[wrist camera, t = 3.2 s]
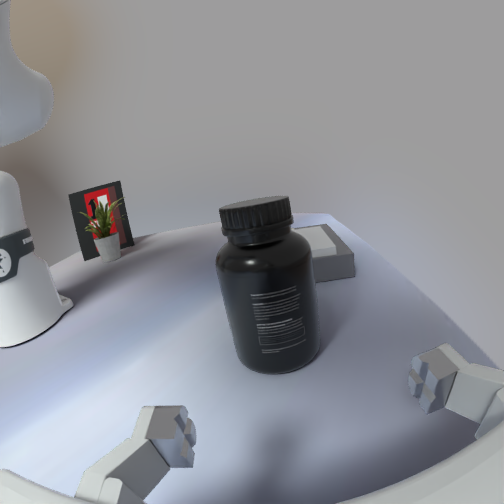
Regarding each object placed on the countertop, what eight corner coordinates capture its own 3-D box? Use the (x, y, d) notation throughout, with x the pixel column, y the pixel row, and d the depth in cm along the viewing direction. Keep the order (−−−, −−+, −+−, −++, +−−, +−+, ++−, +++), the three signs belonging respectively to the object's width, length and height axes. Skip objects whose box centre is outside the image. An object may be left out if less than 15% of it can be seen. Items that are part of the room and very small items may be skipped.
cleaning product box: (129, 242, 88) (116, 183, 82) (134, 245, 80) (120, 180, 75) (84, 256, 79) (70, 196, 74) (84, 261, 72) (68, 194, 67)
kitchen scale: (226, 294, 35) (219, 264, 34) (241, 252, 52) (237, 231, 51) (354, 276, 33) (353, 245, 32) (328, 240, 50) (325, 218, 49)
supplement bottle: (329, 330, 23) (316, 189, 20) (306, 383, 18) (285, 205, 14) (258, 324, 27) (235, 198, 23) (221, 368, 21) (183, 216, 18)
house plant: (151, 249, 69) (137, 186, 64) (107, 269, 58) (90, 198, 53) (122, 250, 76) (109, 195, 72) (83, 266, 65) (68, 206, 61)
